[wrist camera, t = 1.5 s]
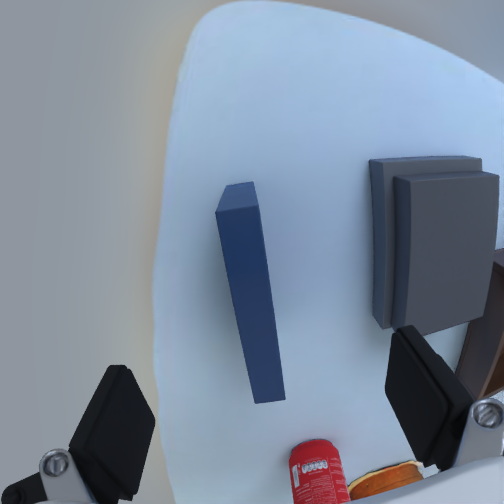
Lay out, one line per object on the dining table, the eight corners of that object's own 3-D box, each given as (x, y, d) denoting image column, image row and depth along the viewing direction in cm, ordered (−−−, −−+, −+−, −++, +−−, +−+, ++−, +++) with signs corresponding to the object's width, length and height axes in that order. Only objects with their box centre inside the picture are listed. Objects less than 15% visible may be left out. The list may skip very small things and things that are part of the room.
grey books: (368, 159, 17) (398, 165, 14) (464, 155, 17) (501, 162, 13) (372, 315, 21) (393, 347, 17) (457, 293, 21) (484, 318, 17)
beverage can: (341, 434, 26) (368, 534, 15) (330, 459, 28) (349, 548, 17) (291, 438, 26) (306, 545, 15) (284, 463, 28) (295, 556, 16)
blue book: (225, 185, 18) (214, 211, 11) (253, 181, 18) (258, 204, 11) (251, 330, 21) (254, 404, 15) (274, 327, 21) (285, 400, 15)
